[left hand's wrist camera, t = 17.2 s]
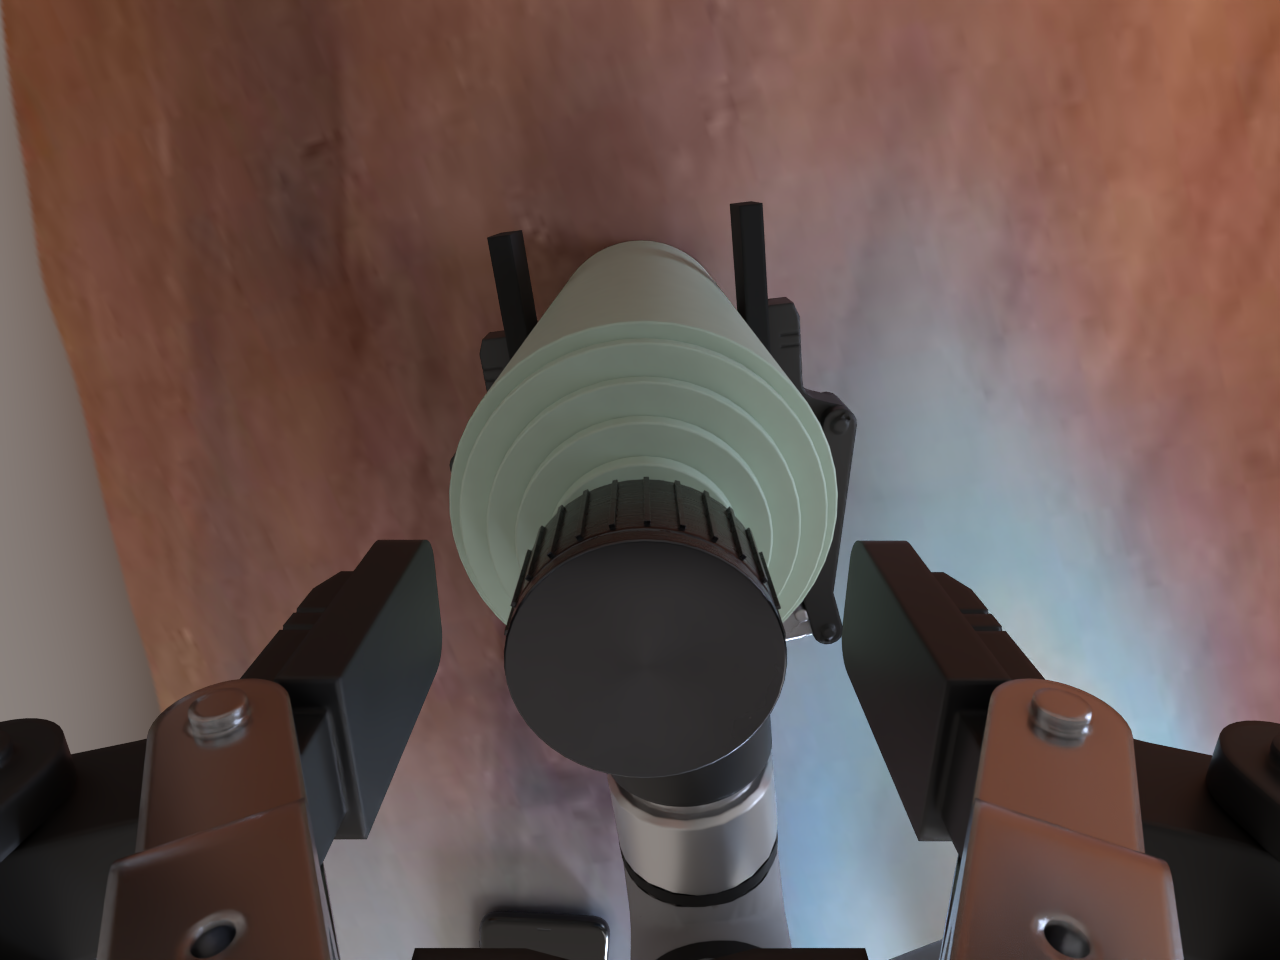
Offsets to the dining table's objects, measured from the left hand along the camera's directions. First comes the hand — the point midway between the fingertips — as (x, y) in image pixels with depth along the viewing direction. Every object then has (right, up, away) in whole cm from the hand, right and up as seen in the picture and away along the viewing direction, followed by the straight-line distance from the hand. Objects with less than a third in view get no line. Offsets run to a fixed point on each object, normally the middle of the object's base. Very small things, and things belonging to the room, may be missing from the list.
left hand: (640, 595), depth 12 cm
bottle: (0, +8, +22) cm, 23 cm away
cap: (0, -1, -1) cm, 1 cm away
